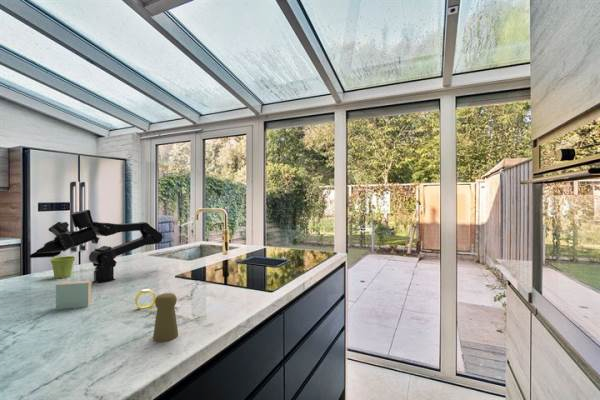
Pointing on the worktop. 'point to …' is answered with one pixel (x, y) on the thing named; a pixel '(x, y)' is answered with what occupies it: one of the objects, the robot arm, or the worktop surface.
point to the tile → (73, 294)
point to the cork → (165, 318)
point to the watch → (145, 292)
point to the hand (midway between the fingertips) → (33, 254)
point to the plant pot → (62, 266)
